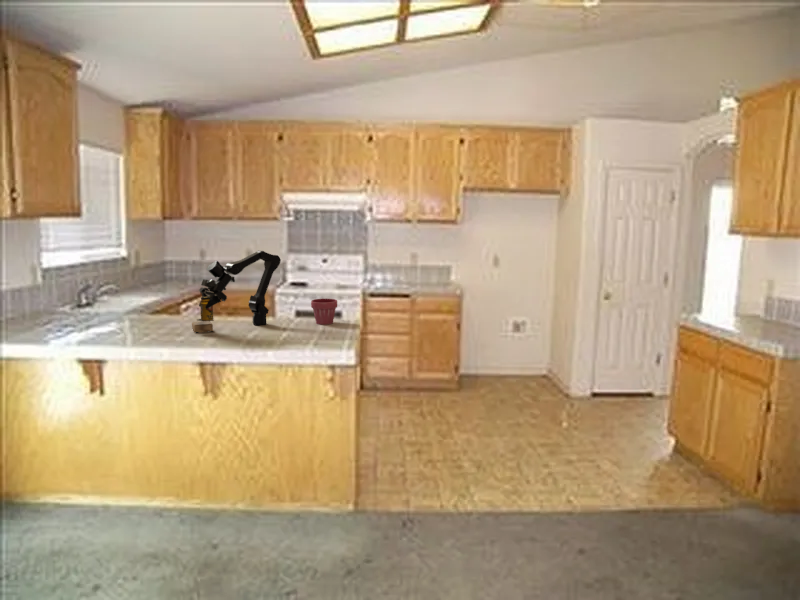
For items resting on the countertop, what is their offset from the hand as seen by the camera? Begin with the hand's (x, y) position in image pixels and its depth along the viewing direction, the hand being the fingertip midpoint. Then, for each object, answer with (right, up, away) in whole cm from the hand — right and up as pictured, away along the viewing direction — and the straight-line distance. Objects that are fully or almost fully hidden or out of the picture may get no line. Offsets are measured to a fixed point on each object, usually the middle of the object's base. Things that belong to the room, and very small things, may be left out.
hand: (202, 307), depth 327 cm
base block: (-3, -12, +8) cm, 15 cm away
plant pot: (+58, -9, +31) cm, 66 cm away
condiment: (+1, -7, +2) cm, 7 cm away
